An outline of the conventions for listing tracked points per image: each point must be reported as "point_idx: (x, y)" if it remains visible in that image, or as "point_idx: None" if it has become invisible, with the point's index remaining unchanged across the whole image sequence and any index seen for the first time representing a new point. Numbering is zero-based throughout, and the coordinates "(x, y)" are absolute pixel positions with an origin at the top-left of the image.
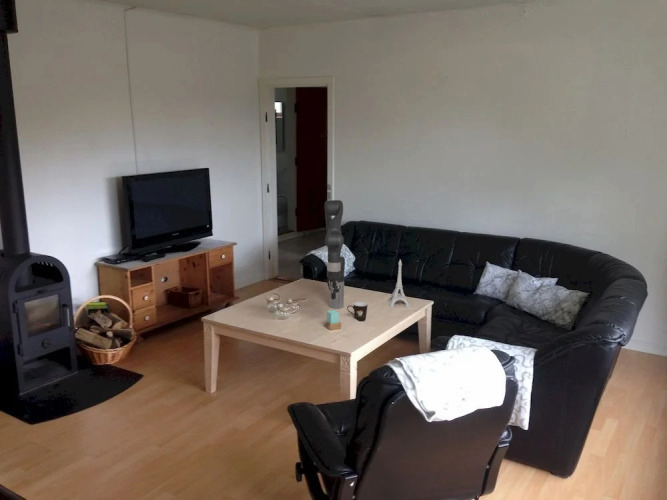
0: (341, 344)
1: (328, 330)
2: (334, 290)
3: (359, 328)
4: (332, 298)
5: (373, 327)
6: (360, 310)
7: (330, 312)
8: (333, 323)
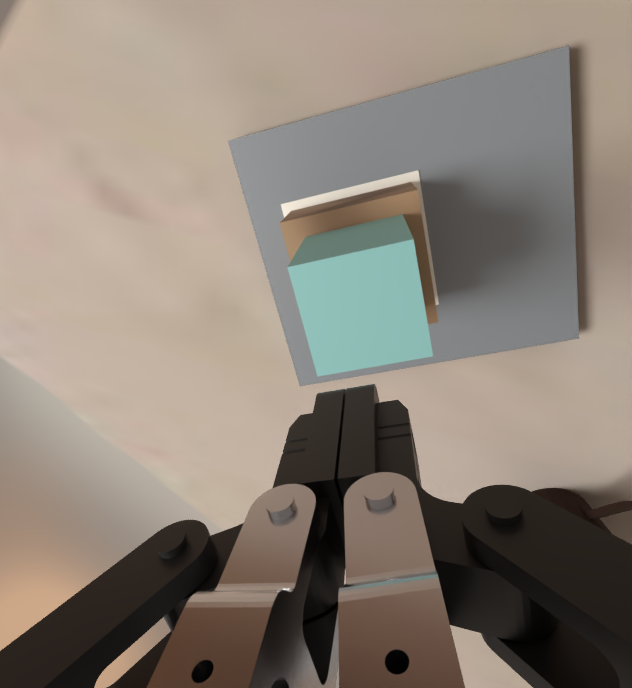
0: (34, 237)
1: (316, 199)
2: (97, 610)
3: None
4: (317, 403)
5: None
6: None
7: (340, 272)
8: None
